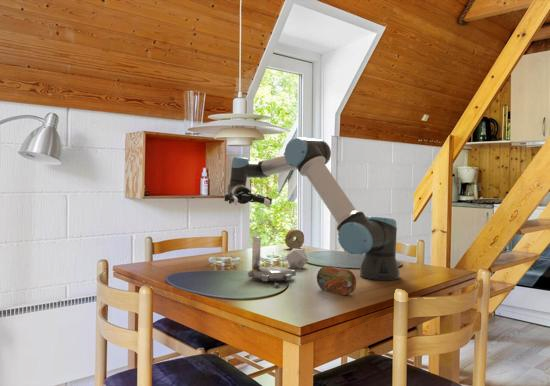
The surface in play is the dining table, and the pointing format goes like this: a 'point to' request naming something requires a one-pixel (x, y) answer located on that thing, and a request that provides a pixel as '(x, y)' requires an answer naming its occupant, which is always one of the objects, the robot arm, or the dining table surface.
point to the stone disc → (297, 242)
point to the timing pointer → (276, 284)
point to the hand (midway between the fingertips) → (253, 203)
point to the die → (297, 258)
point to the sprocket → (267, 272)
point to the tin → (336, 280)
